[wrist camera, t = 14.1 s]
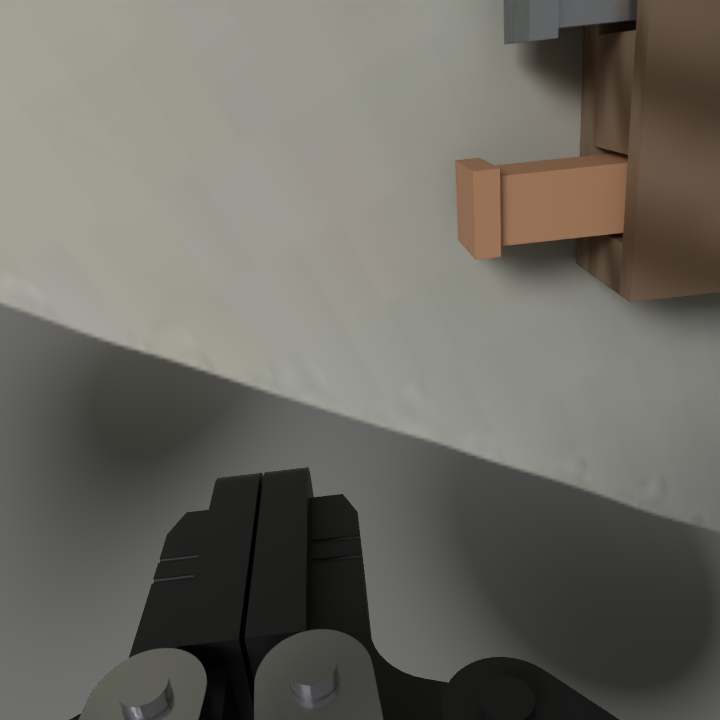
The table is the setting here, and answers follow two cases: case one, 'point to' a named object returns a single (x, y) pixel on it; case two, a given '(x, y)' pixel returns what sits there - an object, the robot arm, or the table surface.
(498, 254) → the rust plug
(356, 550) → the robot arm
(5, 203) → the table surface
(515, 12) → the grey plug
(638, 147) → the socket block
